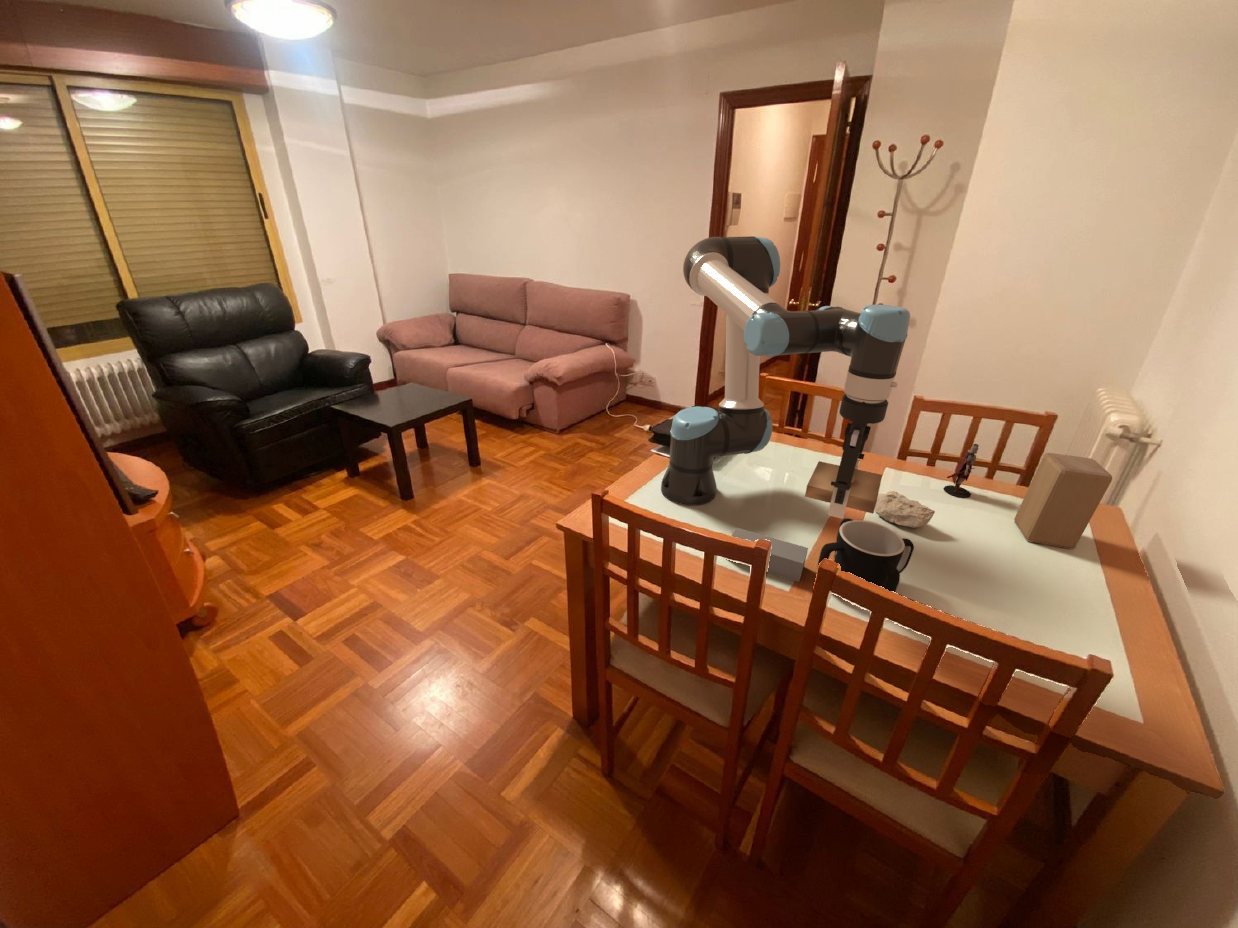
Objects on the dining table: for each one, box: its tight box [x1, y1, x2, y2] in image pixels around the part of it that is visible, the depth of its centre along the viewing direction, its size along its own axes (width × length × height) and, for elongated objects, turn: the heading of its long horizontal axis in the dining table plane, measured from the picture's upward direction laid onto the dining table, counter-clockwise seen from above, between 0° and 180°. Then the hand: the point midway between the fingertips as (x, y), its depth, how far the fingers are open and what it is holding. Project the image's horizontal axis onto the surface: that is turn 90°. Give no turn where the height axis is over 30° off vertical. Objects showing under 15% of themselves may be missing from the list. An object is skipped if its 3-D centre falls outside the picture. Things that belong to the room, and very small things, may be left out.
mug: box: [817, 517, 915, 593], centre depth 103 cm, size 16×16×12 cm
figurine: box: [943, 443, 979, 499], centre depth 137 cm, size 7×7×15 cm
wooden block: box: [1014, 452, 1113, 550], centre depth 118 cm, size 10×10×20 cm
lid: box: [804, 460, 883, 514], centre depth 97 cm, size 12×12×4 cm
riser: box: [731, 527, 809, 583], centre depth 110 cm, size 16×6×5 cm, turn 62°
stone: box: [874, 490, 936, 529], centre depth 126 cm, size 8×12×10 cm
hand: (840, 501), depth 98 cm, fingers closed on lid, 12 cm apart
